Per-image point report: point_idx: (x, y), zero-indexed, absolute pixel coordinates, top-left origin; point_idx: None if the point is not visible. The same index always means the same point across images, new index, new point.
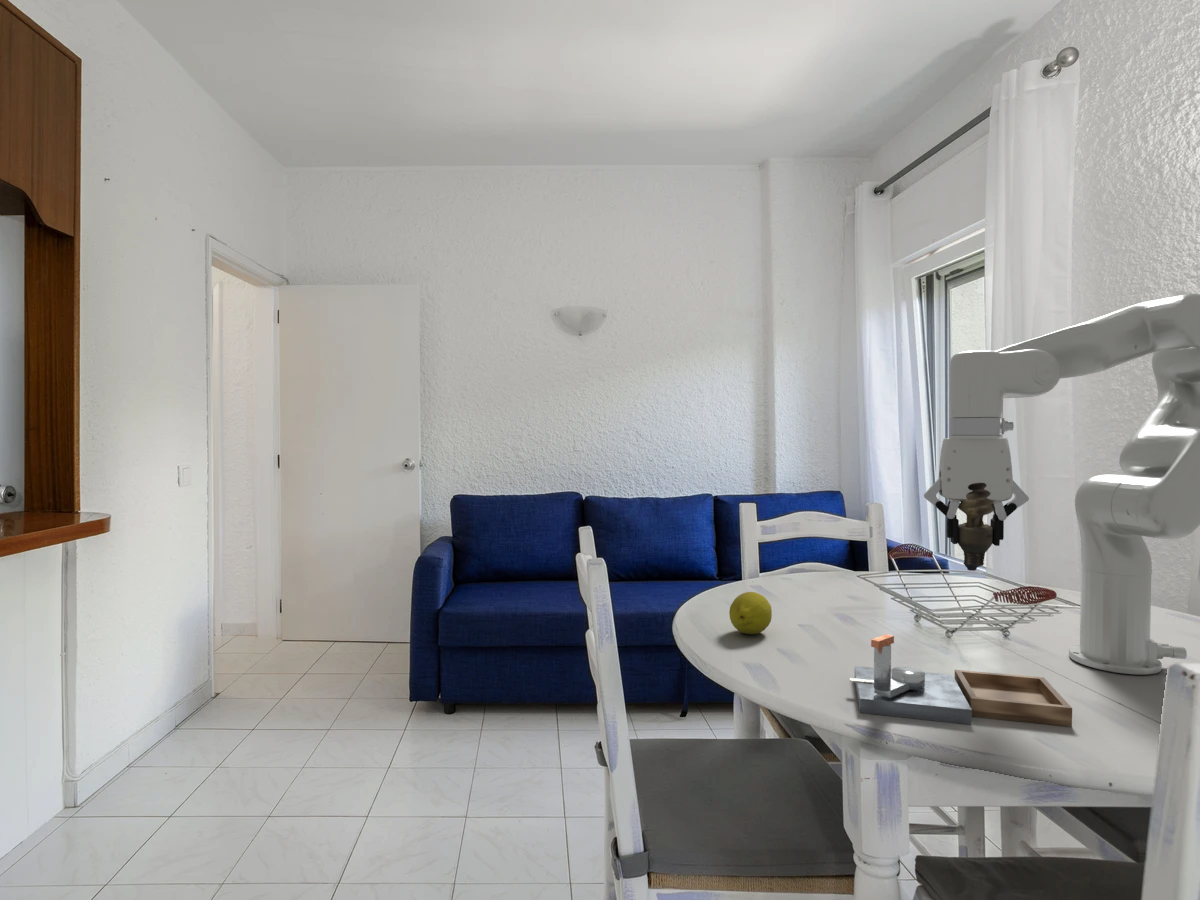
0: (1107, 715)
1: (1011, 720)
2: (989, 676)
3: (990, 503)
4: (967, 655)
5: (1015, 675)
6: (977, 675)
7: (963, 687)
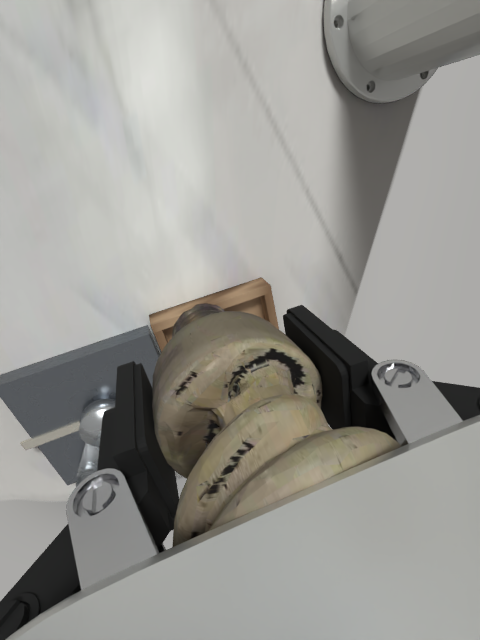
0: (318, 310)
1: None
2: None
3: None
4: (136, 108)
5: (234, 299)
6: None
7: None
